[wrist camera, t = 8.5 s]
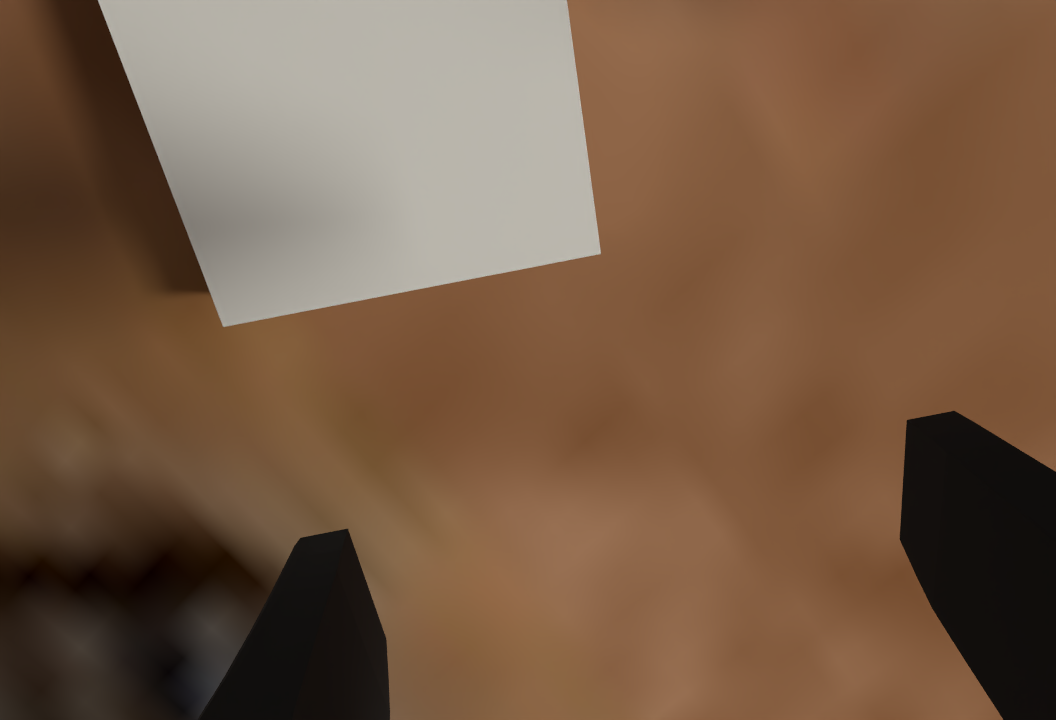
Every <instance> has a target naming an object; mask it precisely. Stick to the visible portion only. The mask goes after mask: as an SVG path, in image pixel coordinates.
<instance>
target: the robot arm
mask: <svg viewBox="0 0 1056 720" xmlns="http://www.w3.org/2000/svg"><path fill="white" fill-rule="evenodd" d="M900 541H901V543H902V545H903V547H904V550H905V552H906V554H907V556H908V558H909V561H910V563H911V565H912V567H913V569H914V572H915V574H916V576H917V578H918V580H919V582H920V584H921V586H922V588H923V590H924V592H925V594H926V596H927V598H928V600H929V603H930V605H931V607H932V609H933V610H934V612H935V613H936V615H937V617H938V618H939V620H940V622H941V623H942V625H943V626H944V628H945V630H946V631H947V633H948V634H949V636H950V637H951V639H952V641H953V642H954V644H955V645H956V647H957V648H958V650H959V652H960V653H961V655H962V656H963V658H964V659H965V661H966V663H967V664H968V666H969V667H970V669H971V670H972V672H973V673H974V675H975V676H976V678H977V679H978V681H979V683H980V684H981V686H982V687H983V689H984V690H985V692H986V693H987V695H988V696H989V698H990V700H991V701H992V703H993V704H994V706H995V707H996V709H997V710H998V712H999V713H1000V715H1001V717H1002V718H1003V720H1056V472H1055V471H1053V470H1052V469H1050V468H1048V467H1047V466H1045V465H1043V464H1042V463H1040V462H1039V461H1037V460H1035V459H1034V458H1032V457H1030V456H1029V455H1027V454H1025V453H1024V452H1022V451H1020V450H1019V449H1017V448H1016V447H1014V446H1012V445H1011V444H1009V443H1007V442H1006V441H1004V440H1002V439H1001V438H999V437H998V436H996V435H994V434H993V433H991V432H989V431H988V430H986V429H984V428H983V427H981V426H979V425H978V424H976V423H974V422H973V421H971V420H969V419H968V418H966V417H964V416H962V415H961V414H959V413H957V412H955V411H951V412H946V413H941V414H936V415H931V416H926V417H920V418H915V419H910V420H907V427H906V443H905V460H904V477H903V493H902V510H901V527H900ZM198 720H390V703H389V679H388V661H387V643H386V637H385V634H384V631H383V628H382V625H381V623H380V620H379V617H378V614H377V611H376V608H375V605H374V603H373V600H372V597H371V594H370V591H369V588H368V585H367V582H366V580H365V577H364V574H363V571H362V568H361V565H360V562H359V560H358V557H357V554H356V551H355V548H354V545H353V542H352V540H351V537H350V534H349V531H348V529H344V530H339V531H334V532H328V533H323V534H318V535H313V536H308V537H303V538H300V539H299V541H298V542H297V543H296V545H295V546H294V548H293V550H292V552H291V554H290V556H289V558H288V560H287V562H286V564H285V566H284V568H283V570H282V572H281V574H280V576H279V578H278V580H277V582H276V584H275V586H274V588H273V590H272V592H271V594H270V596H269V597H268V599H267V601H266V603H265V605H264V607H263V609H262V611H261V613H260V614H259V616H258V618H257V620H256V622H255V624H254V626H253V627H252V629H251V631H250V633H249V635H248V636H247V638H246V640H245V642H244V643H243V645H242V647H241V649H240V650H239V652H238V654H237V656H236V657H235V659H234V661H233V663H232V664H231V666H230V668H229V670H228V672H227V673H226V675H225V677H224V678H223V680H222V682H221V683H220V685H219V687H218V688H217V690H216V691H215V693H214V695H213V696H212V698H211V699H210V701H209V702H208V704H207V706H206V707H205V709H204V710H203V712H202V713H201V715H200V717H199V718H198Z"/></svg>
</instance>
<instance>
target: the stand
mask: <svg viewBox="0 0 1056 720" xmlns="http://www.w3.org/2000/svg"><path fill="white" fill-rule="evenodd" d="M98 2H99V4H100V7H101V10H102V12H103V15H104V17H105V20H106V23H107V25H108V28H109V31H110V33H111V36H112V38H113V41H114V44H115V46H116V49H117V51H118V54H119V57H120V59H121V62H122V64H123V67H124V70H125V72H126V75H127V77H128V80H129V83H130V85H131V88H132V90H133V93H134V96H135V98H136V101H137V103H138V106H139V109H140V111H141V114H142V116H143V119H144V122H145V124H146V127H147V129H148V132H149V135H150V137H151V140H152V142H153V145H154V148H155V150H156V153H157V156H158V158H159V161H160V163H161V166H162V169H163V171H164V174H165V176H166V179H167V182H168V184H169V187H170V189H171V192H172V195H173V197H174V200H175V202H176V205H177V208H178V210H179V213H180V215H181V218H182V221H183V223H184V226H185V228H186V231H187V234H188V236H189V239H190V241H191V244H192V247H193V249H194V252H195V254H196V257H197V260H198V262H199V265H200V267H201V270H202V273H203V275H204V278H205V280H206V283H207V286H208V288H209V291H210V294H211V296H212V299H213V301H214V304H215V307H216V309H217V312H218V314H219V317H220V320H221V322H222V325H223V327H225V326H231V325H236V324H241V323H246V322H251V321H256V320H262V319H267V318H272V317H277V316H282V315H287V314H293V313H298V312H303V311H308V310H313V309H318V308H324V307H329V306H334V305H339V304H344V303H349V302H355V301H360V300H365V299H370V298H375V297H380V296H386V295H391V294H396V293H401V292H406V291H411V290H417V289H422V288H427V287H432V286H437V285H442V284H448V283H453V282H458V281H463V280H468V279H473V278H479V277H484V276H489V275H494V274H499V273H504V272H510V271H515V270H520V269H525V268H530V267H535V266H541V265H546V264H551V263H556V262H561V261H566V260H572V259H577V258H582V257H587V256H592V255H597V254H601V251H600V244H599V236H598V229H597V221H596V214H595V207H594V199H593V192H592V184H591V177H590V169H589V162H588V154H587V147H586V140H585V132H584V125H583V117H582V110H581V102H580V95H579V88H578V80H577V73H576V65H575V58H574V50H573V43H572V36H571V28H570V21H569V13H568V6H567V0H98Z"/></svg>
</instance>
